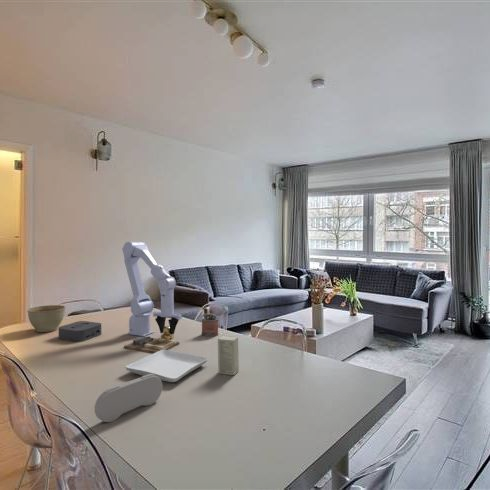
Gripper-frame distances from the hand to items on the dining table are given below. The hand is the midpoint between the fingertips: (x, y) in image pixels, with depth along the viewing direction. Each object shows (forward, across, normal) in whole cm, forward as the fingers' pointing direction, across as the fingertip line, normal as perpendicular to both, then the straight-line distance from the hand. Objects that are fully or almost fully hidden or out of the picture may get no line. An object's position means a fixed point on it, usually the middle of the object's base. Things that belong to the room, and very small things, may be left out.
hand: (167, 333), depth 163 cm
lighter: (+2, +15, +13) cm, 20 cm away
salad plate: (+3, +23, -31) cm, 39 cm away
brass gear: (+2, 0, 0) cm, 2 cm away
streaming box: (+3, -38, -14) cm, 41 cm away
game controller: (+2, +31, -59) cm, 67 cm away
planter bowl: (+2, -61, -14) cm, 63 cm away
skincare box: (+2, +43, -24) cm, 49 cm away
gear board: (+2, +1, -12) cm, 12 cm away
